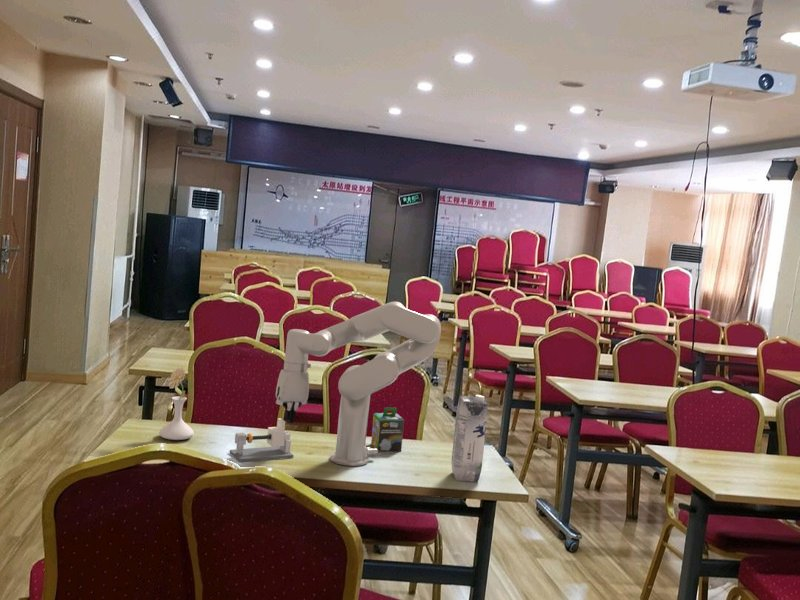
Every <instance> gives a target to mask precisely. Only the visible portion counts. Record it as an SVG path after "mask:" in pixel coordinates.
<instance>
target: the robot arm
mask: <svg viewBox="0 0 800 600" xmlns="http://www.w3.org/2000/svg"><path fill="white" fill-rule="evenodd" d="M389 331H390V332H393V333H395V334H396V335H399V336H402V337H404V338H407V339H408V340H405V341H404V342H402V343H400V344H399V345H397V346H394V347H393V348H390V349H388V350H385V351H383V352H380V353H377V354H376V355H375V357H373V359H371V360H369V361H367V362H364V363H363V364H356V365H351V366H349V367H348V368H347V369H345V371H344V372H343V373H342V375H341V376H340V378H339V380H338V385H337V386H338V391H339V394H340V395H341V396H340V402H339V403H340V404H339V413H338V421H337V422H338V423H337V432H336V433H337V434H336V442H335V443H336V444H335V452H332V453H331V454H330V461H332V463H335V464H337V465H341V466H342V465H343V466H349V467H361V466H363V465H367V464H368V463H369V460H370V459H369V456H370V455H377V454H378V452H379V451H378V450H377V448H375V447H373V448H371V447H370V446H366V442H367V441H366V440H367V432H368V430H367V429H368V420H369V413H370V411H369V410H370V402H371V395H372V394H374V393H376V392H378V391H380V390H382V389H384V388H386V387H387V386H390V385H391V384H392V383H394V382H395V381H396V380H397V378H398V377H399V375H401V374H403V373H405V372H407V371H408V370H410V369H412V368H414V367H416V366H417V365H419V364H421V363H423V362H424V361H426V360H427V359H429V358H430V357H431V356H432V355H433V354H434V352H435V351H436V349H437V347H438V346H439V343H440V341H441V334H442V325H441V321H440V319H439V318H438V317H437V316H436V315H434V314H430V313H426V314H422V313H418V312H416V311H413V310H410V309H408V308H406V307H405V306H404V304H403V303H401V302H400V301H390V302H387V303H384V304H381V305H380V306H377V307H374V308H372V309H369V310H367V311H365V312H362V313H360V314H357V315H354V316H352V317H351V318H349V319H346V320H344V321H341V322H339V323H337V324H333V325H331V326H330V327H327V328H325V329H322V330H319V331H317V332H315V333H310V332H309V331H308V330H305V329H299V328H293V329H289V330H288V332H287V337H286V346H285V355H284V363H283V369H281V370H280V372H279V375H278V378H277V383H276V388H275V389H276V390H275V399H276V400H275V404H276V405H279V406H283V408H284V409H285V413H284V420H285V422H287V423H288V424H291V423H292V424H293V423H294V422H295V419H296V412H297V411H298V409H299V408H300V407H301V406H304V405H307V404H308V399H309V391H310V379H309V378H310V377H309V376H310V375H309V371H308V369H310V368H312V367H311V366H312V365H311V363H309V361H308V360H309V355H310V356H315V357H324V356H326V355H328V353H330V352H331V351H333V350H336V349H338V348H340V347H343V346H345V345H349V344H351V343H353V342H362V341H364V342H365V341H367V340H369V339H372V338H374V337H377V336H380V335H382V334H384V333H386V332H389Z"/></svg>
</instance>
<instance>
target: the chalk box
mask: <svg viewBox="0 0 800 600" xmlns="http://www.w3.org/2000/svg"><path fill="white" fill-rule="evenodd" d="M388 411H392V412H388ZM372 415H373V417H372V429H371V439H370V441H371V442H370V443H371V445H372V447H373V448H377V450H378V452H385V451H386V452H402V447H403V439H404V438H403V437H404V427H405V419H404V418H403V417H402V416H400V414H398V413H397V407H384V408H383V412H380V413H379V412H374V413H373V414H372Z"/></svg>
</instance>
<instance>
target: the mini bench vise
mask: <svg viewBox="0 0 800 600" xmlns="http://www.w3.org/2000/svg"><path fill="white" fill-rule="evenodd" d="M291 444H292V441H291V434H290V433H288V431H286V430H285V440H284V446H274V447H272V446H266V447H265V446H264V447H262V446H261V447H252V448H251V447H250V448H243V455H238V454H236V448H235V449H229V454H230V455H231V456H232V457H233V458H234V459H236V460H237V461H238V462H239V463H246V462H247V463H248V462H260V461H261V462H262V461H273V459H275V460H281V459H280V458H287V459H293V458H294V454H293V453H292V452H291Z"/></svg>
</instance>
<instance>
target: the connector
mask: <svg viewBox="0 0 800 600" xmlns="http://www.w3.org/2000/svg"><path fill="white" fill-rule="evenodd" d="M246 437H247V434H246V433H244V432H235V435H234V443H235V444H236V448H235V449H236V454H238V455H243V449H244V446H245V445H247V440H246Z"/></svg>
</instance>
